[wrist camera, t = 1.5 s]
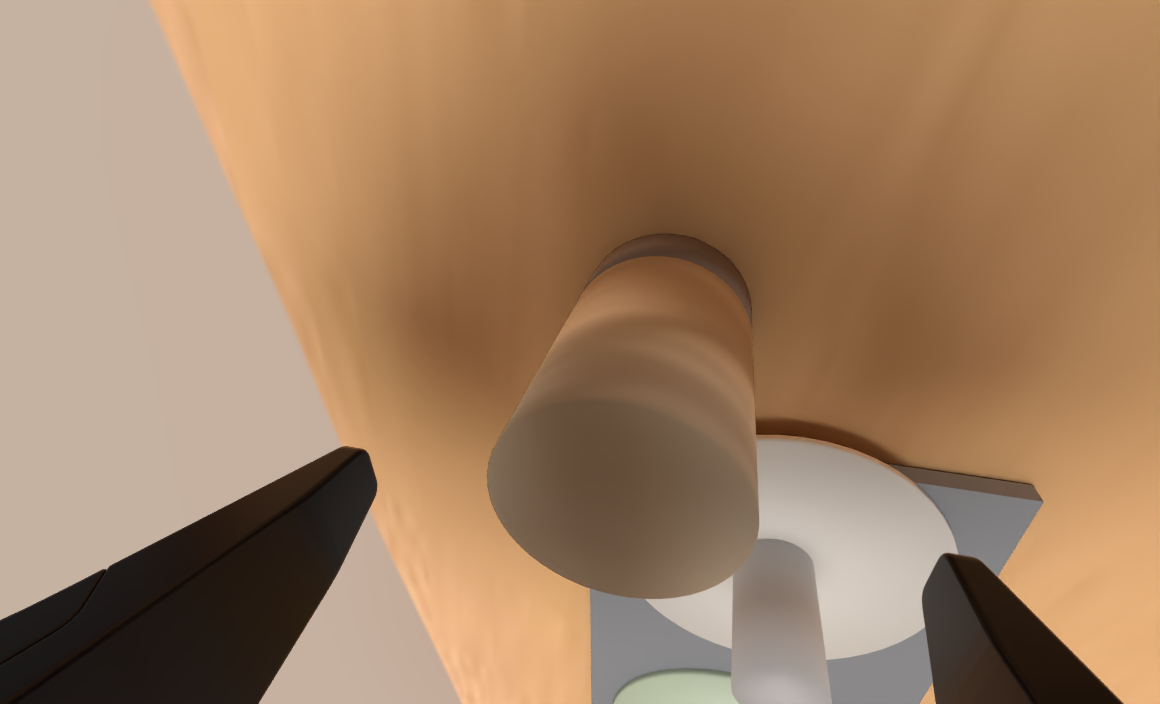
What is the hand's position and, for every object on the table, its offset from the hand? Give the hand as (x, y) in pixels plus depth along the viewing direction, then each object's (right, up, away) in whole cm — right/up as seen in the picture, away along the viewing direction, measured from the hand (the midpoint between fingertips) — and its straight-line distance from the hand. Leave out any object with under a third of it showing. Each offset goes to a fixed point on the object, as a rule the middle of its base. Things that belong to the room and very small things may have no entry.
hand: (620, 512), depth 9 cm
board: (+6, -9, +12) cm, 16 cm away
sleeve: (+2, +4, +6) cm, 7 cm away
